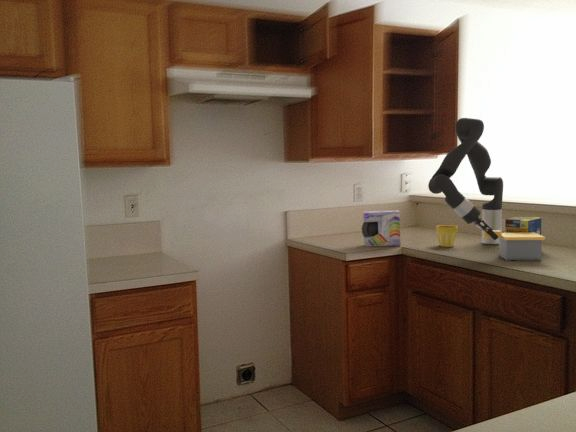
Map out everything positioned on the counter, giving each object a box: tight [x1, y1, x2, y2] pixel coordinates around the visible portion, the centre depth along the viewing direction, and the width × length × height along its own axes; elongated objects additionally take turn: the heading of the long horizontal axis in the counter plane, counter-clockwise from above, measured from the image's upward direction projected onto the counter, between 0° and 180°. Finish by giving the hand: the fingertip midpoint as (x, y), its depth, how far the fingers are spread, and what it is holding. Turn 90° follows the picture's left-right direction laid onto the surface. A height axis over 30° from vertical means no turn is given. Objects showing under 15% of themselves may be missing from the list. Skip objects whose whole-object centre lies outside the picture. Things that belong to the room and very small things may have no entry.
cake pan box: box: [361, 209, 402, 247], centre depth 278 cm, size 19×5×18 cm, turn 82°
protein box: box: [504, 215, 542, 235], centre depth 251 cm, size 10×15×16 cm
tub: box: [498, 238, 543, 261], centre depth 236 cm, size 12×14×9 cm
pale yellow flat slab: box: [483, 230, 546, 241], centre depth 236 cm, size 14×23×3 cm, turn 83°
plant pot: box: [435, 224, 459, 248], centre depth 273 cm, size 10×10×10 cm
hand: (494, 237), depth 237 cm, fingers open, 7 cm apart
